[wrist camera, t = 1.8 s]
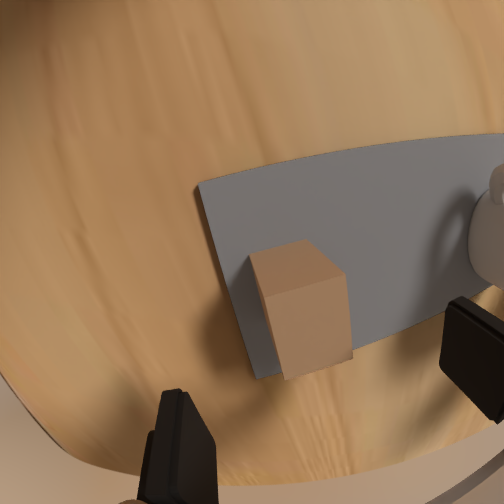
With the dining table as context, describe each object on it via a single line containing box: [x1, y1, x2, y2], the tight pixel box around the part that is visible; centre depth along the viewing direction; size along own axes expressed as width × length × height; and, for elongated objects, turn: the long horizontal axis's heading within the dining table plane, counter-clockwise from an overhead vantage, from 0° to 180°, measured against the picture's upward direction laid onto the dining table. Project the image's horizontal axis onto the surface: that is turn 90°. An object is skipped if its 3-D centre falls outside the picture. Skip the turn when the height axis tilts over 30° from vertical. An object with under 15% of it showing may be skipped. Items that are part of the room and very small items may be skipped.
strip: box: [198, 134, 504, 380], centre depth 14 cm, size 12×26×5 cm, turn 104°
